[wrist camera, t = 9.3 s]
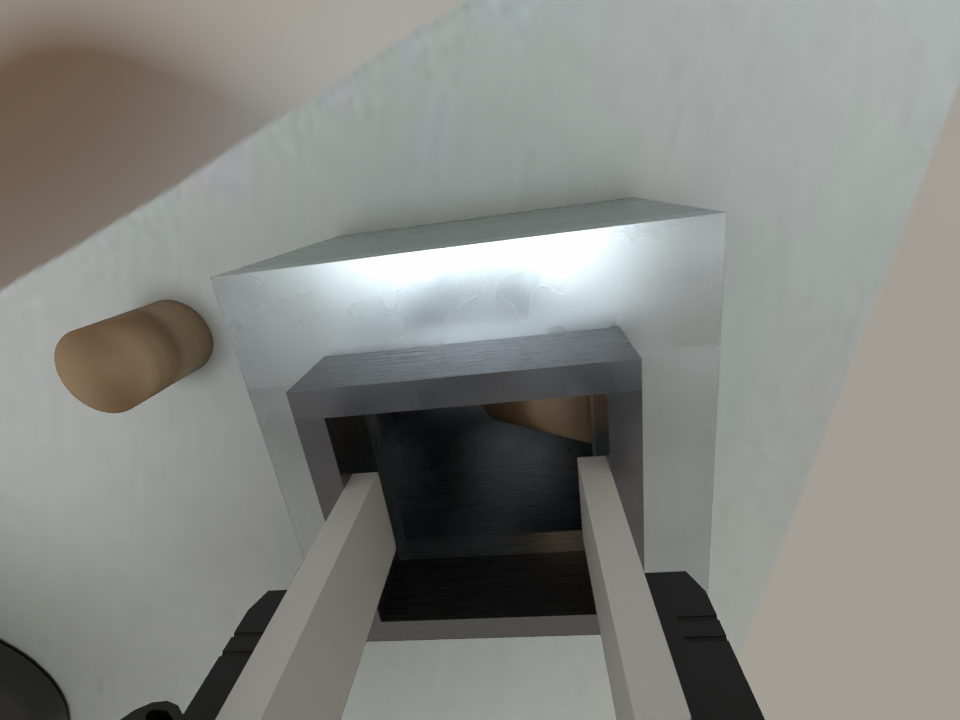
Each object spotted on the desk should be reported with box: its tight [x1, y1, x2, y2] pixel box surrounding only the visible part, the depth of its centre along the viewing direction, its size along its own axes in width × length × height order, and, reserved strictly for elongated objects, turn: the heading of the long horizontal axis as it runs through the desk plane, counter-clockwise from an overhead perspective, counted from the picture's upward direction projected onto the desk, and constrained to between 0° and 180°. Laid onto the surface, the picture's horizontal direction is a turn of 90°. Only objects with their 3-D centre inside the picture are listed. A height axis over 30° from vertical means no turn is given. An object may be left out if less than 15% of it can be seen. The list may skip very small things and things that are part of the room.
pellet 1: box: [55, 300, 213, 413], centre depth 23 cm, size 4×4×5 cm
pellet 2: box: [483, 395, 592, 444], centre depth 20 cm, size 4×4×5 cm
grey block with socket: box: [211, 198, 727, 642], centre depth 18 cm, size 14×14×12 cm
